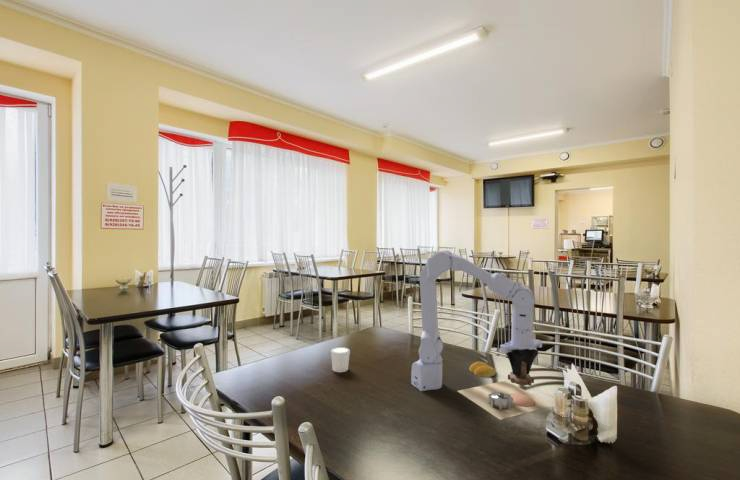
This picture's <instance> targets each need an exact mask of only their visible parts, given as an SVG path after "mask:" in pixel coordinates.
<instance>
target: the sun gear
mask: <svg viewBox="0 0 740 480" xmlns="http://www.w3.org/2000/svg"><path fill="white" fill-rule="evenodd" d="M488 403H489V404H491V407H492V408H497V409H499V410H501V411H502V410H508V411H509V410H511V407H512V408H513V398H511V395H510V394H506V393H503V392H501V391H500V392H494V391H492V393H491V394H489V399H488Z"/></svg>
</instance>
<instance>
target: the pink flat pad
mask: <svg viewBox="0 0 740 480" xmlns="http://www.w3.org/2000/svg"><path fill="white" fill-rule="evenodd" d="M510 395H511V398H513V404H515V405H518V406H523V407H529V406H533V405H534V400H533V399H532V398H531V397H529V396H526V395H523V394H518V393H511V394H510Z"/></svg>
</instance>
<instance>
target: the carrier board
mask: <svg viewBox="0 0 740 480" xmlns="http://www.w3.org/2000/svg"><path fill="white" fill-rule="evenodd" d="M492 391H494V392H500V391H501V392H503V393H506V394H511V393H518V394H523V395H526V396H529V397H531V398H532V399H533V400H534V405H533V406H529V407H523V406H518V405H515V404H513V408H512V407H511V410H509V411H508V410H502V411H501V410H499V409H497V408H492V407H491V404H489V403H488V399H489V394H491V393H492ZM457 392H458V393H459V394H460V395H463V396H464V398H467V399H468V400H469V401H472V402H473V403H474V404H476V405H478V406H479V407H480V408H482V409H483V410H484V411H487V412H488V413H489V414H491V415H492V416H493V417H495V418H497V419H498V420H500V421H501V420H505V419H509V418H513V417H516V416H519V415H524V414H528V413H531V412H535V411H539V410H542V409H546V408H550V407H554V406H553V405H554V404H552V403H550V402H547V401H546V400H544V399H543V398H540V397H538V396H536V395H534V394H533V393H530V392H529V391H527V390H525V389H523V388H520V387H519V386H517V385H515V384H514V383H512V382H509V381H507V380H502V381H498V382H494V383H493V382H491V383H488V384H483V385H479V386H474V387H470V388H464V389H460V390H457Z"/></svg>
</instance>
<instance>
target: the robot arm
mask: <svg viewBox="0 0 740 480" xmlns="http://www.w3.org/2000/svg"><path fill="white" fill-rule="evenodd" d="M450 269H451V270H450ZM449 270H450V271H451V272H458V271H460V272H464V273H465V274H467V275H470V276H472V277H474V278H475V279H478V280H480V281H482V282H484V283H485V284H486V286H487V290H489V291H492V292H493V293H495V294H496V295H499V296H500V297H503V298H504V299H506V300H508V301H512V303H513V304H512V311H511V330H510V331H511V336H510V337H511V339H510V341H507V342H505V343H502V344H500V346H499V351H500V352H501V353H503V354H506V357H507V358H508V361H509V364H510V366H511V372H513V374H514V375H516V376H520V374H521V365H522V362H525V363H527V372H526V374H527V375H528V374H529V375H530V372H531V369H532V365H533V363H534V361H535V359H536V357H538V355H539V350H537V349H535V348H538V349H539V348H543V341H542V340H540V339H533V336H534V313H533V311H534V304H535V301H536V300H535V297H534V296H535V295H534V294H533V291H532V290H531V288H529V287H527V285H523V284H522V283H521V282H520V281H518V282H516V281H515V280H513V279H511V278H509V277H507V274H505V273H504V272H502V273H500V272H494V273H491V272H489V271H488V270H485V269H484V268H482V267H480V266H478V265H477V264H475V263H474V262H472V261H470V260H468V259H467V258H465V257H463V256H461V255H459V254H456V253H452V252H451V251H449V250H442V251H438V252H435V253H434V254H432V255H431V256H430V257H429V258H428V259H427V261H426V263H425V265H424V267H423V268H422V270H421V271H420V273H419V291H420V293H419V294H420V308H421V309H420V310H421V325H422V330H421V331H422V332H421V336H420V346H419V348H418V356H419V358H418V360H417V361H414V362H412V364H411V373H410V383H411V385H412V386H413V387H414V388H416V389H417V390H418V391H420V392H424V391H431V390H439V389H441V388H442V387H443V357H442V355H441V353H442V351H443V350H444V343H443V340H442V338H441V332H440V330H439V324H438V323H439V322H438V320H439V319H438V304H437V303H438V301H437V286H436V280H438V279H439V277H441V275H442V274H443V273H446V272H447V271H449Z"/></svg>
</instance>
